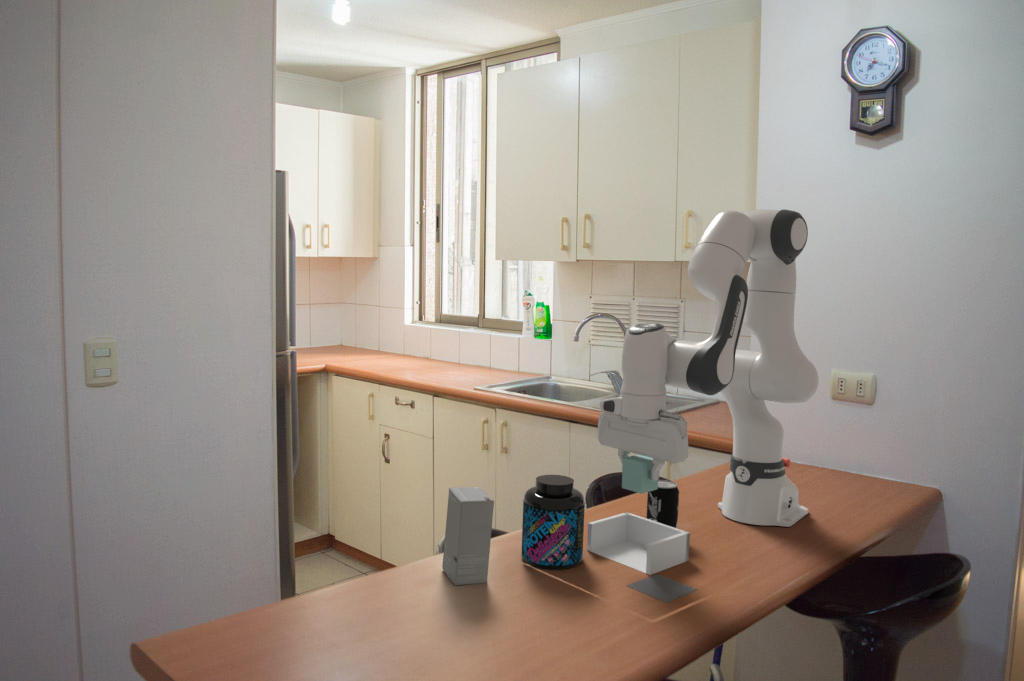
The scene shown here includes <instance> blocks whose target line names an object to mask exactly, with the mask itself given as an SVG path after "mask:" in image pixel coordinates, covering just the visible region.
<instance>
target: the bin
mask: <svg viewBox="0 0 1024 681" xmlns="http://www.w3.org/2000/svg"><path fill="white" fill-rule="evenodd" d="M690 536H691V532H689V531H686V530H683V529H679V528H678V527H677V528H674V527H671V526H668V525H665V524H662V523H659V522H656V521H653V520H650V519H647V518H645V517H643V516H639V515H637V514H634V513H631V512H628V511H626V512H622V513H619V514H615V515H612V516H608V517H605V518H604V517H603V518H601V519H597V520H594V521H590V522H588V523H587V542H586V551H588V552H590V553H593V554H596V555H598V556H600V557H602V558H605V559H609V560H611V561H613V562H616V563H619V564H621V565H623V566H625V567H629V568H631V569H634V570H636V571H639V572H641V573H644V574H647V575H649V576H653V575H655V574H658V573H659V572H662V571H665V570H667V569H670V568H672V567H674V566H676V567H677V566H678V565H681V564H683V563H685V562H688V561H689V558H690V557H689V556H690V555H689V554H690V541H691V540H690Z"/></svg>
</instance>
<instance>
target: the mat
mask: <svg viewBox="0 0 1024 681" xmlns="http://www.w3.org/2000/svg"><path fill="white" fill-rule="evenodd" d="M626 587H628V588H630V589H632V590H635V591H636V592H640V593H642V594H645V595H646V596H649V597H652V598H654V599H657V600H659V601H661V602H663V603H666V604H668V603H670V602H673V601H675V600H677V599H679V598H682V597H684V596H686V595H688V594H691V593H693V592H696V591H698V589H697V588H694V587H692V586H689V585H687V584H684V583H682V582H679V581H676V580H674V579H672V578H670V577H666V576H664V575H662V574H659V573H654V574H652V575H649V576H648V577H645V578H643V579H639V580H638V581H636V582H635V581H634V582H632V583H629V584H627V585H626Z"/></svg>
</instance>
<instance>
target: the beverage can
mask: <svg viewBox="0 0 1024 681" xmlns="http://www.w3.org/2000/svg"><path fill="white" fill-rule="evenodd" d="M679 504H680V490H679V488H678V483H677V482H674V481H672V480H668V479H667V480H666V479H658V489H657V490H653V491H650V492H647V502H646V518H647V519H650V520H653V521H656V522H659V523H662V524H665V525H668V526H671V527H674V528H677V529H678V522H679V506H680V505H679Z"/></svg>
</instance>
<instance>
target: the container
mask: <svg viewBox="0 0 1024 681" xmlns="http://www.w3.org/2000/svg"><path fill="white" fill-rule="evenodd" d="M522 502H523V503H522V526H521V527H522V528H521V529H522V530H521V532H522V533H521V558H522V559H523V561H524V562H525V563H526V564H528V565H529V566H531V567H533V568H538V569H541V570H542V569H543V570H550V571H553V570H555V571H558V570H560V571H562V570H568V569H572V568H574V567H577V566H578V565H580V564H581V562H582V561H583V552H584V550H583V549H584V530H585V529H584V528H585V524H584V523H585V507H586V506H585V505H586V504H585V503H586V502H585V496H584V494H583V493H582V492H581V491H580V490H579V489H577V488H575V480H574V478H572V477H570V476H567V475H561V474H543V475H539V476H537V477H536V478H535V486H532V487H531V486H530V488H528V489H527V490H526V491H525V492H524V494H523V499H522Z"/></svg>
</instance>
